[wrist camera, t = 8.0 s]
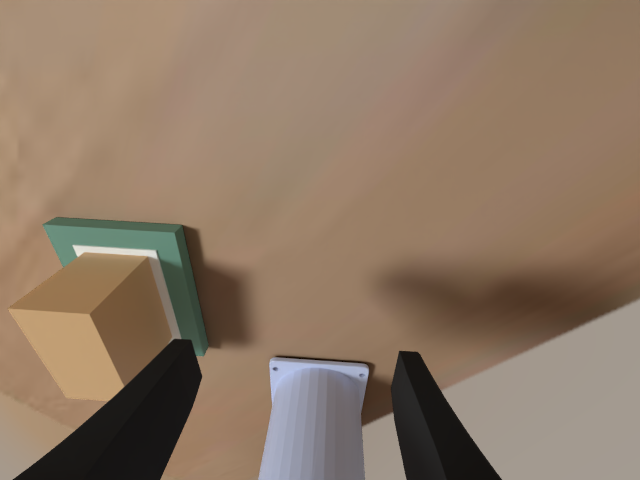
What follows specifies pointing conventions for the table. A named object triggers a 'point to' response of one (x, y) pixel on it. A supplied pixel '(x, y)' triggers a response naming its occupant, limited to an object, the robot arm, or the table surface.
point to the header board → (164, 257)
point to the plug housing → (95, 323)
